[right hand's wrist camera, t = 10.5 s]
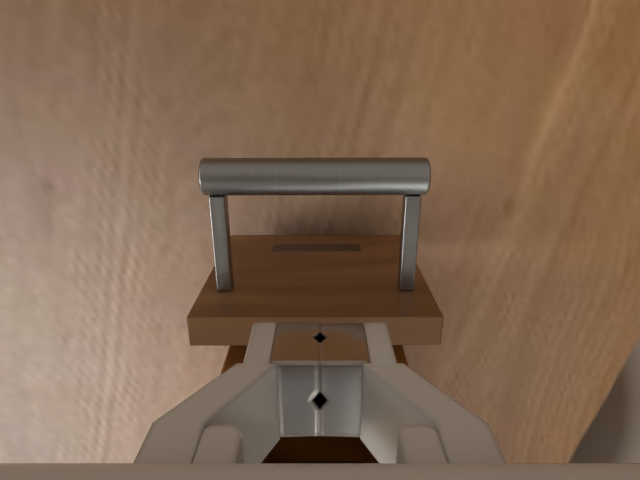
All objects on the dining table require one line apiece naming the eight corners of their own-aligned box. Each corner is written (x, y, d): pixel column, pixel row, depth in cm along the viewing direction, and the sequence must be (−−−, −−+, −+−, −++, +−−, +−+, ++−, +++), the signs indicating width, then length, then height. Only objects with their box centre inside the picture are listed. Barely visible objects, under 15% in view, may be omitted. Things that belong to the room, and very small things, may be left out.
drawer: (222, 135, 22) (168, 171, 14) (409, 134, 22) (459, 170, 14) (247, 455, 30) (220, 598, 22) (387, 454, 30) (413, 598, 22)
